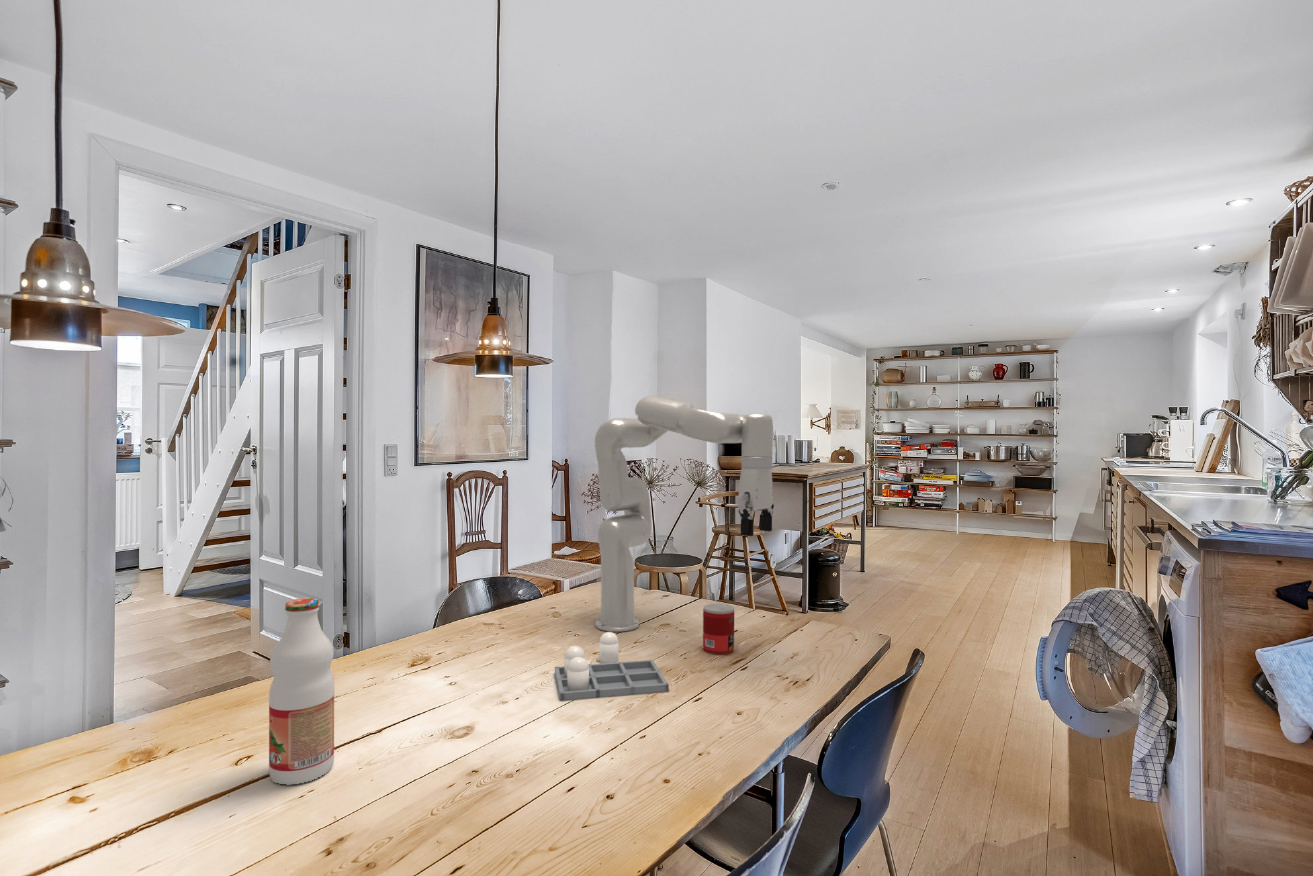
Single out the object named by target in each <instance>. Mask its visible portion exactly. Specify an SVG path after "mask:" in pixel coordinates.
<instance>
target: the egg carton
mask: <svg viewBox="0 0 1313 876" xmlns="http://www.w3.org/2000/svg"><path fill="white" fill-rule="evenodd" d="M588 664H589V690H578V691H567V678H564V666H554V677H555V681H556V686H557V691H558V696H559V701H560V702H565V701H577V700H587V699H589V700H590V699H598V698H599V699H601V698H611V697H621V696H622V697H623V696H634V695H635V696H636V695H644V694H645V695H646V694H657V693H669V689H670V688H669V687H670V685H669V683H668V681H667V680H666V678H665V677H664V675H663V673H662V672H661V671H660V669H659V667H658V666H657V664H656V663H655V661H654V660H653V659H645V660H644V659H643V660H630V661H618V662H615V663H591V664H590V663H588Z"/></svg>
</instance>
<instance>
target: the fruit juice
mask: <svg viewBox="0 0 1313 876" xmlns="http://www.w3.org/2000/svg"><path fill="white" fill-rule="evenodd" d="M319 610H320V600H319V599H318V598H315V597H304V598H303V597H302V598H301V597H300V598H296V599H295V598H294V599H291V600H289V601H287V602H286V603H285V606H284V611H285V614H286V616H287V618H286V619H287V620H286V623H285V628H284V629H283V630H284V631H283V633H282V636H281V637H280V639H279V641H278V642H277V643H276V644H275V646H274V647H273V649H272V650H271V653H270V660H269V665H270V669H271V671H272V674H273V679H272V681H271V684H270V686H269V694H268V695H269V697H268V774H269V777H270V780H271V782H273V783H274V782H275V783H274V784H276V783H279V784H278V785H280V784H288V785H287V786H291V785H290V784H297V785H300V784H299V783H302V784H305V783H304V782H306V783H309V782H308V781H310V782H313V781H315V780H318V779H319V778H318V777H320V778H322V777H323V776H325V775H326V774H327V773H328V772H330V771H331V770H332V768H333V766H334V761H335V681H334V680H335V679H334V676H333V673H332V671H331V665H332V662H333V657H334V646H333V644H332V642H331V640H330V639H329V637H328V636H327V635H326V634H325V633H324V631H323V630H322V627H321V625H320V621H319V618H318V611H319ZM324 774H325V775H324ZM322 775H323V776H322ZM314 779H315V780H314ZM312 780H313V781H312Z"/></svg>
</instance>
